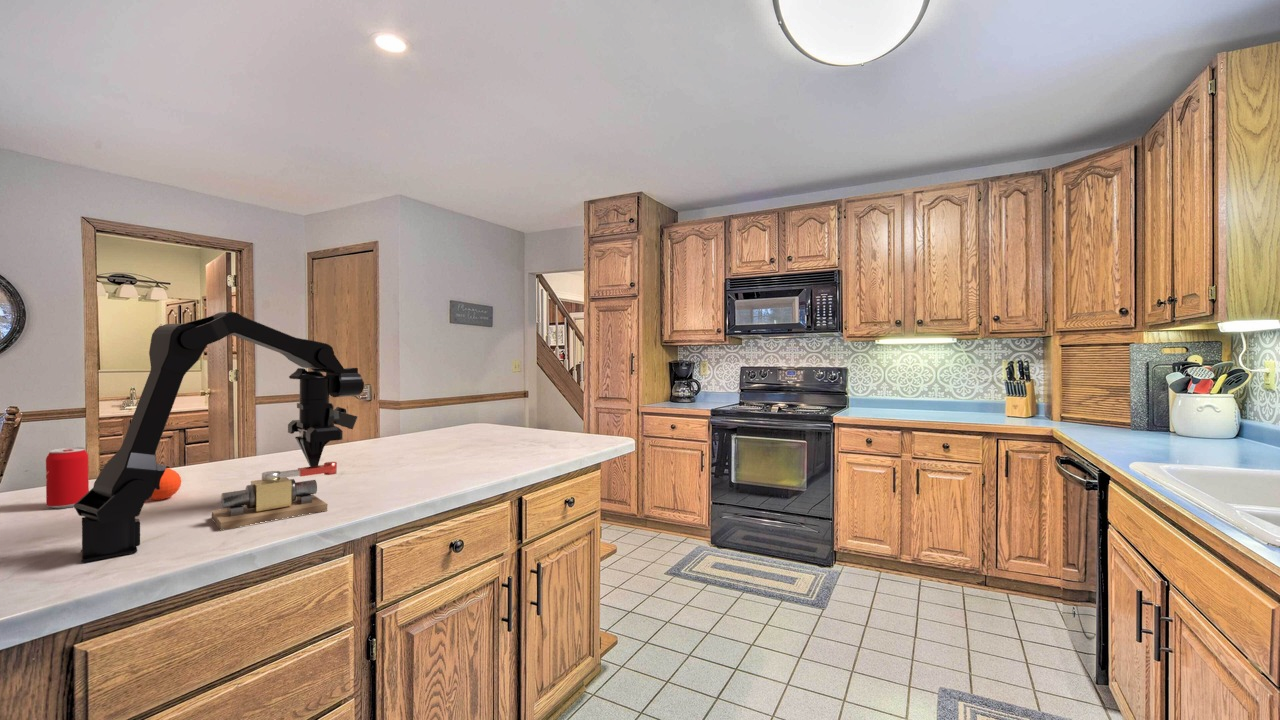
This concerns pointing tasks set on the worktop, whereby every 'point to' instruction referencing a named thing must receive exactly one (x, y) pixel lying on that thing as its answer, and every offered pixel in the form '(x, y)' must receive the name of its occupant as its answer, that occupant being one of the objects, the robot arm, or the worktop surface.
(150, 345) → the robot arm
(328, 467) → the valve lever
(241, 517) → the mounting board
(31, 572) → the worktop surface
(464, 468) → the worktop surface
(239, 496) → the valve
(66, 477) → the beverage can
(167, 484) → the clementine
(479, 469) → the worktop surface
